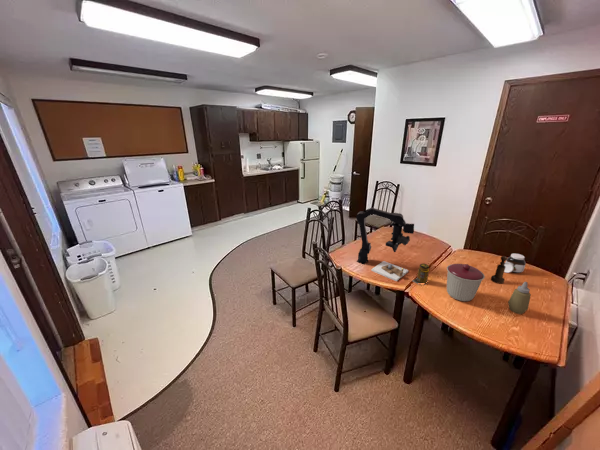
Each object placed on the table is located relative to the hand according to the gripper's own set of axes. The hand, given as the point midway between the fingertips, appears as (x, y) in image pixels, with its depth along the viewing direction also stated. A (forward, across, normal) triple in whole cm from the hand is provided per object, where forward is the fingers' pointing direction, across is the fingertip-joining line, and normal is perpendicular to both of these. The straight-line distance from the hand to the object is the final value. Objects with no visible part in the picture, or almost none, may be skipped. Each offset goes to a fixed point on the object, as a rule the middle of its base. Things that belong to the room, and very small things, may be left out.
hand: (394, 251), depth 172 cm
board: (+12, -8, -2) cm, 14 cm away
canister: (+12, -4, -44) cm, 46 cm away
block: (+11, -8, -4) cm, 14 cm away
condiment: (+12, -5, -22) cm, 26 cm away
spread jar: (+12, +51, -60) cm, 80 cm away
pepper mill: (+12, +30, -56) cm, 65 cm away
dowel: (+11, -6, -9) cm, 15 cm away
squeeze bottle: (+12, +3, -69) cm, 70 cm away
